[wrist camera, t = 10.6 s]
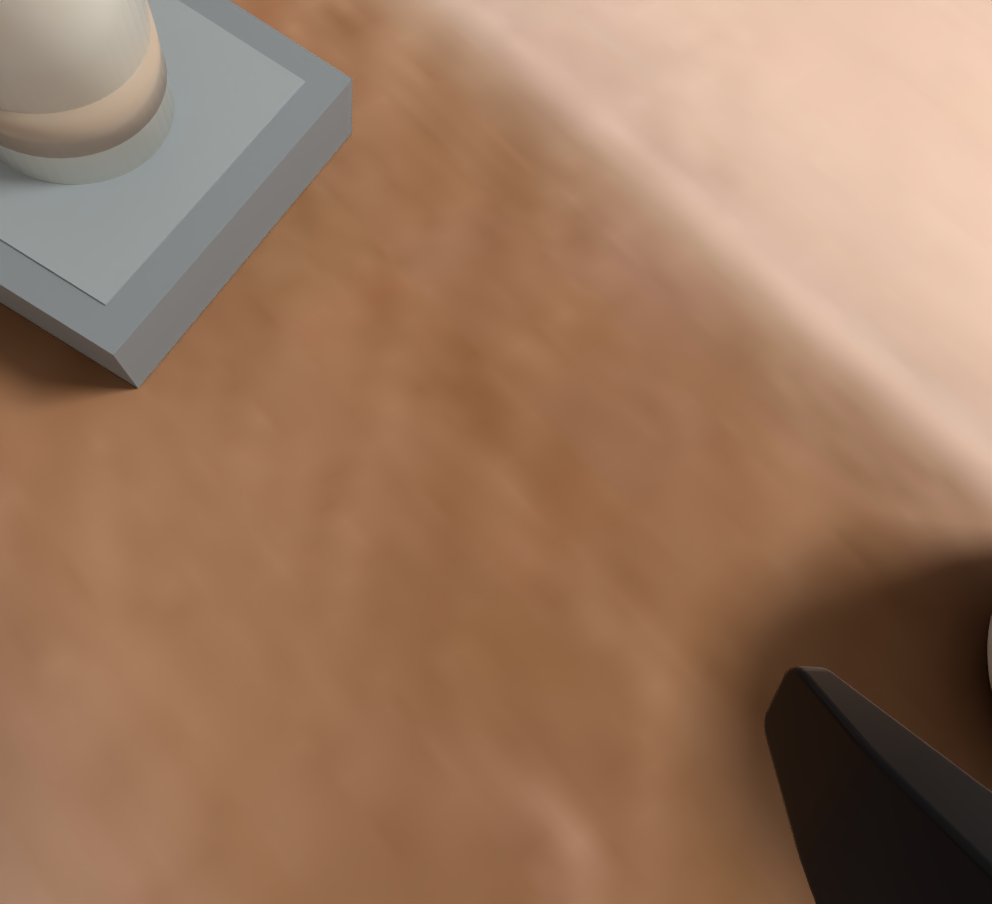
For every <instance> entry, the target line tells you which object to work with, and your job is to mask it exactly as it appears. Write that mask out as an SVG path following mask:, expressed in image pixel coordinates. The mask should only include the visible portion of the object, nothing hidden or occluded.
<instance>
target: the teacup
mask: <svg viewBox="0 0 992 904" xmlns="http://www.w3.org/2000/svg"><path fill="white" fill-rule="evenodd" d="M987 652H988V671H989V679H990V684H991V689H992V616H991V621H990V625H989V630H988V644H987Z"/></svg>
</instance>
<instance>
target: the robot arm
mask: <svg viewBox="0 0 992 904" xmlns="http://www.w3.org/2000/svg"><path fill="white" fill-rule="evenodd" d="M764 727H765V735H766V739H767V743H768V746H769V750H770V754H771V757H772V761H773V764H774V768H775V772H776V775H777V779H778V783H779V786H780V790H781V794H782V797H783V801H784V805H785V808H786V812H787V815H788V819H789V823H790V826H791V830H792V834H793V837H794V841H795V844H796V847H797V851H798V854H799V857H800V860H801V864H802V866H803V869H804V872H805V875H806V878H807V881H808V883H809V886H810V889H811V891H812V894H813V897H814V899H815V902H816V904H992V792H991V791H990V790H988V789H987V788H986V787H985V786H983V785H982V784H981V783H979V782H978V781H977V780H975V779H974V778H973V777H971V776H970V775H969V774H967V773H966V772H965V771H963V770H962V769H961V768H959V767H958V766H957V765H955V764H954V763H953V762H951V761H950V760H949V759H947V758H946V757H945V756H943V755H942V754H941V753H939V752H938V751H937V750H935V749H934V748H933V747H931V746H930V745H929V744H927V743H926V742H925V741H923V740H922V739H921V738H919V737H918V736H917V735H915V734H914V733H913V732H911V731H910V730H909V729H907V728H906V727H905V726H903V725H902V724H901V723H899V722H898V721H897V720H895V719H894V718H893V717H891V716H890V715H889V714H887V713H886V712H885V711H883V710H882V709H881V708H879V707H878V706H877V705H875V704H874V703H873V702H871V701H870V700H869V699H867V698H866V697H865V696H863V695H862V694H861V693H859V692H858V691H857V690H855V689H854V688H853V687H851V686H850V685H849V684H847V683H846V682H845V681H843V680H842V679H841V678H839V677H838V676H837V675H835V674H834V673H833V672H831V671H830V670H828V669H826V668H823V667H814V666H793V667H791V668H790V669H788V670H787V671H786V672H785V674H784V676H783V678H782V680H781V682H780V685H779V687H778V689H777V691H776V693H775V695H774V697H773V699H772V701H771V704H770V706H769V708H768V710H767V712H766V716H765V725H764Z"/></svg>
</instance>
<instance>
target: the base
mask: <svg viewBox="0 0 992 904" xmlns="http://www.w3.org/2000/svg"><path fill="white" fill-rule="evenodd" d="M147 1H148V4H149V7H150V10H151V13H152V17H153V20H154V23H155V27H156V30H157V34H158V37H159V40H160V44H161V47H162V51H163V54H164V57H165V61H166V67H167V74H168V78H169V81H170V84H171V88H172V91H173V97H174V117H173V122H172V125H171V128H170V131H169V133H168V135H167V137H166V139H165V141H164V142H163V144H162V145H161V147H160V148H159V149H158V151H157V152H156V153H155V154H154V155H153V156H152V157H151V158H150V159H148V160H147V161H146V162H144V163H143V164H142V165H141V166H139V167H137V168H136V169H134V170H132V171H131V172H128V173H126V174H124V175H122V176H119V177H117V178H113V179H110V180H107V181H103V182H98V183H92V184H81V185H71V184H58V183H51V182H46V181H42V180H38V179H35V178H32V177H29V176H27V175H24V174H22V173H20V172H18V171H16V170H14V169H12V168H11V167H9V166H8V165H6V164H5V163H3V162H2V161H0V303H2V304H4V305H5V306H7V307H8V308H10V309H12V310H13V311H15V312H16V313H18V314H20V315H21V316H23V317H25V318H26V319H28V320H29V321H31V322H33V323H34V324H36V325H37V326H39V327H41V328H42V329H44V330H45V331H47V332H49V333H50V334H52V335H53V336H55V337H57V338H58V339H60V340H61V341H63V342H65V343H66V344H68V345H69V346H71V347H73V348H74V349H76V350H77V351H79V352H81V353H82V354H84V355H85V356H87V357H89V358H90V359H92V360H93V361H95V362H97V363H98V364H100V365H101V366H103V367H105V368H106V369H108V370H109V371H111V372H113V373H114V374H116V375H118V376H119V377H121V378H122V379H124V380H126V381H127V382H129V383H130V384H132V385H134V386H135V387H137V388H139V387H140V386H141V384H142V383H143V382H144V381H145V380H146V378H147V377H148V376H149V375H150V374H151V373H152V371H153V370H154V369H155V368H156V367H157V365H158V364H159V363H160V362H161V361H162V359H163V358H164V357H165V356H166V355H167V353H168V352H169V351H170V350H171V349H172V347H173V346H174V345H175V344H176V343H177V341H178V340H179V339H180V338H181V337H182V335H183V334H184V333H185V332H186V331H187V329H188V328H189V327H190V326H191V325H192V323H193V322H194V321H195V320H196V319H197V318H198V316H199V315H200V314H201V313H202V312H203V310H204V309H205V308H206V307H207V306H208V304H209V303H210V302H211V301H212V300H213V298H214V297H215V296H216V295H217V294H218V292H219V291H220V290H221V289H222V288H223V286H224V285H225V284H226V283H227V282H228V280H229V279H230V278H231V277H232V276H233V274H234V273H235V272H236V271H237V270H238V268H239V267H240V266H241V265H242V264H243V262H244V261H245V260H246V259H247V258H248V257H249V255H250V254H251V253H252V252H253V251H254V249H255V248H256V247H257V246H258V245H259V243H260V242H261V241H262V240H263V239H264V237H265V236H266V235H267V234H268V233H269V231H270V230H271V229H272V228H273V227H274V225H275V224H276V223H277V222H278V221H279V219H280V218H281V217H282V216H283V215H284V213H285V212H286V211H287V210H288V209H289V207H290V206H291V205H292V204H293V203H294V201H295V200H296V199H297V198H298V197H299V196H300V194H301V193H302V192H303V191H304V190H305V188H306V187H307V186H308V185H309V184H310V182H311V181H312V180H313V179H314V178H315V176H316V175H317V174H318V173H319V172H320V170H321V169H322V168H323V167H324V166H325V164H326V163H327V162H328V161H329V160H330V158H331V157H332V156H333V155H334V154H335V152H336V151H337V150H338V149H339V148H340V146H341V145H342V144H343V143H344V142H345V140H346V139H347V138H348V137H349V136H350V135H351V133H352V78H350V77H348V76H347V75H345V74H344V73H342V72H341V71H339V70H337V69H336V68H334V67H333V66H331V65H330V64H328V63H327V62H325V61H323V60H322V59H320V58H319V57H317V56H316V55H314V54H312V53H311V52H309V51H308V50H306V49H305V48H303V47H302V46H300V45H298V44H297V43H295V42H294V41H292V40H291V39H289V38H287V37H286V36H284V35H283V34H281V33H280V32H278V31H277V30H275V29H273V28H272V27H270V26H269V25H267V24H266V23H264V22H262V21H261V20H259V19H258V18H256V17H255V16H253V15H251V14H250V13H248V12H247V11H245V10H244V9H242V8H241V7H239V6H237V5H236V4H234V3H233V2H231V1H230V0H147Z"/></svg>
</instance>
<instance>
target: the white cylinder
mask: <svg viewBox="0 0 992 904" xmlns="http://www.w3.org/2000/svg"><path fill="white" fill-rule="evenodd" d="M173 117H174V97H173V91H172V88H171V84H170V81H169V78H168V74H167V67H166V61H165V57H164V54H163V51H162V47H161V44H160V40H159V37H158V34H157V30H156V27H155V23H154V20H153V17H152V13H151V10H150V7H149V4H148V1H147V0H0V161H2V162H3V163H5V164H6V165H8V166H9V167H11V168H12V169H14V170H16V171H18V172H20V173H22V174H24V175H27V176H29V177H32V178H35V179H38V180H42V181H46V182H51V183H58V184H71V185H81V184H92V183H98V182H103V181H107V180H110V179H113V178H117V177H119V176H122V175H124V174H126V173H128V172H131V171H132V170H134V169H136V168H137V167H139V166H141V165H142V164H143V163H144V162H146V161H147V160H148V159H150V158H151V157H152V156H153V155H154V154H155V153H156V152H157V151H158V149H159V148H160V147H161V145H162V144H163V142H164V141H165V139H166V137H167V135H168V133H169V131H170V128H171V125H172V122H173Z"/></svg>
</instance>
